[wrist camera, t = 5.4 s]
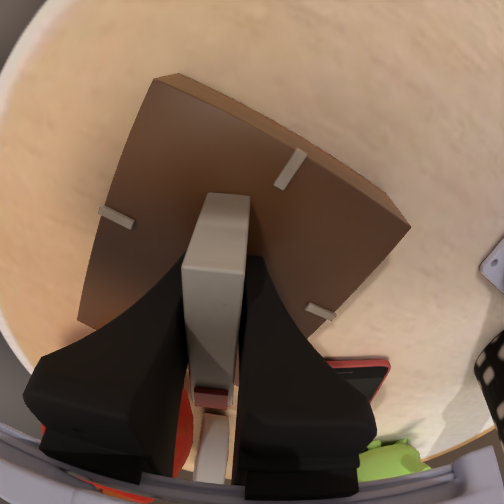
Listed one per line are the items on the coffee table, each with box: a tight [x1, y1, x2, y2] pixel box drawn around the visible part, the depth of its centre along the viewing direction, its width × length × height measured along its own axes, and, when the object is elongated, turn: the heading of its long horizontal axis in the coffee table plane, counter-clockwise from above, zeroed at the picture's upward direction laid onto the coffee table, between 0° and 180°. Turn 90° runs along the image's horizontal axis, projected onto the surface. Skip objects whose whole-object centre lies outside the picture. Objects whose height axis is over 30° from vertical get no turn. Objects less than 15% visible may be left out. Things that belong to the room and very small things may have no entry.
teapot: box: [357, 439, 431, 482], centre depth 27 cm, size 11×12×8 cm
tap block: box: [77, 73, 411, 386], centre depth 14 cm, size 12×10×3 cm
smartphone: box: [326, 359, 391, 403], centre depth 23 cm, size 7×1×14 cm
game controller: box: [192, 413, 229, 484], centre depth 25 cm, size 20×2×8 cm, turn 169°
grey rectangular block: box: [181, 192, 251, 409], centre depth 10 cm, size 6×1×4 cm, turn 175°
